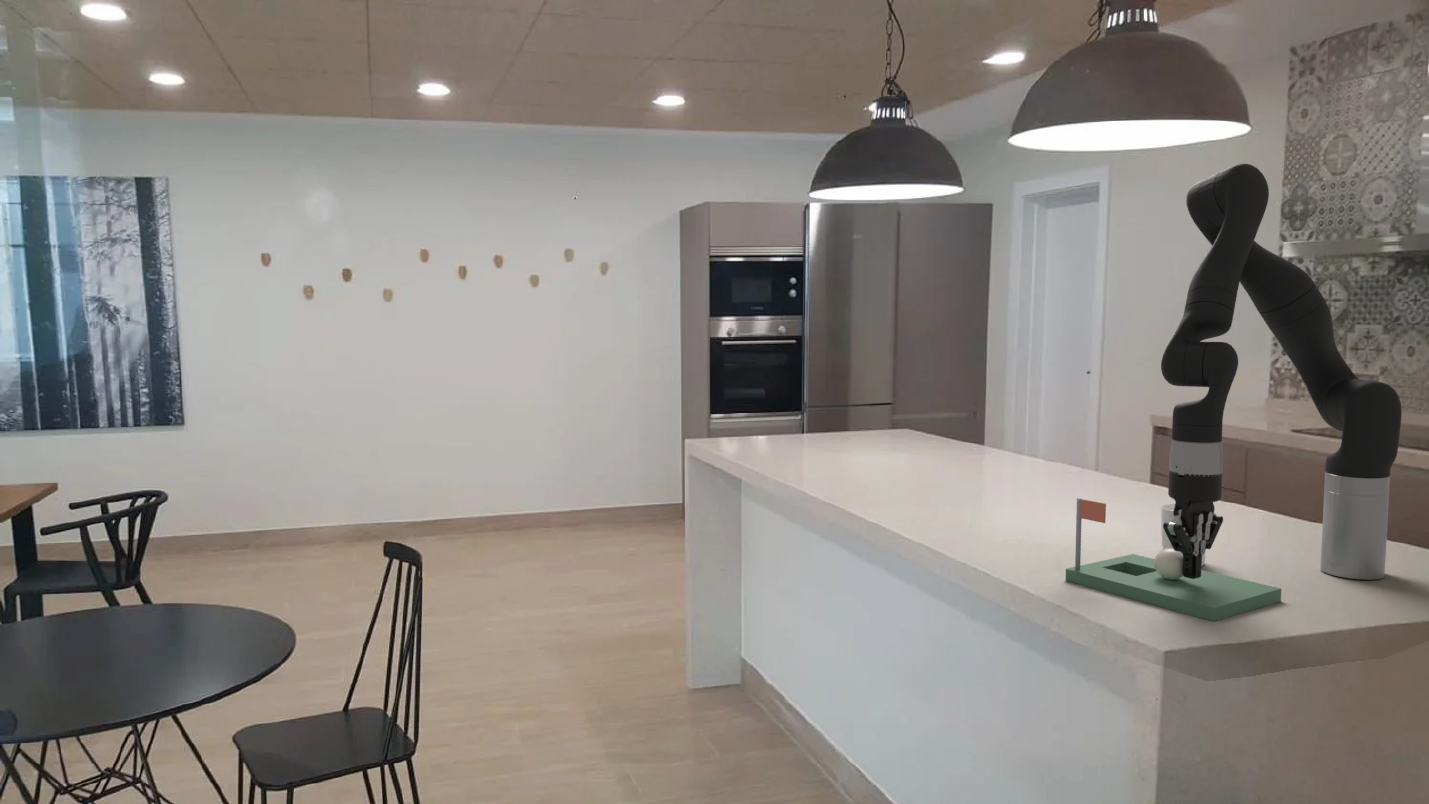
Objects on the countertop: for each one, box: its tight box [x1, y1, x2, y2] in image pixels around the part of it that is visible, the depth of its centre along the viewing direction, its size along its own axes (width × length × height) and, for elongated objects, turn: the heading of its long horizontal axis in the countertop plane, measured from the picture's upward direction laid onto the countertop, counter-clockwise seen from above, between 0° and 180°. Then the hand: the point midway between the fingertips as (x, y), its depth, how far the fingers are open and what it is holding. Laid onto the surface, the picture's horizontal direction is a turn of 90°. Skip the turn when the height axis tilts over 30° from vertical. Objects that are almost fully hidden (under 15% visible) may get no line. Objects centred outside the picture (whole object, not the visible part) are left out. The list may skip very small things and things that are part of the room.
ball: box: [1154, 548, 1183, 580], centre depth 157 cm, size 5×5×5 cm
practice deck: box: [1065, 498, 1282, 622], centre depth 157 cm, size 18×26×14 cm
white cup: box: [1160, 503, 1207, 567], centre depth 174 cm, size 8×8×10 cm
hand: (1191, 577), depth 154 cm, fingers closed
